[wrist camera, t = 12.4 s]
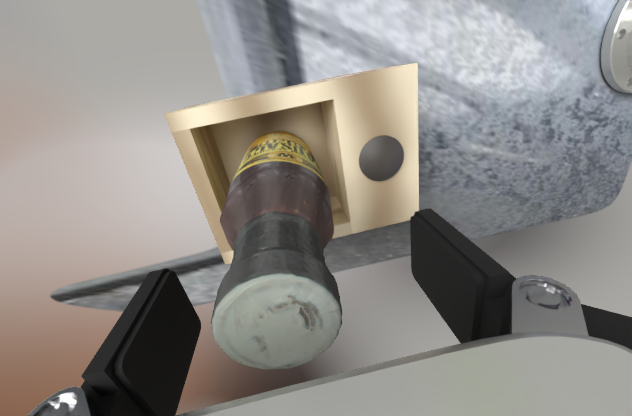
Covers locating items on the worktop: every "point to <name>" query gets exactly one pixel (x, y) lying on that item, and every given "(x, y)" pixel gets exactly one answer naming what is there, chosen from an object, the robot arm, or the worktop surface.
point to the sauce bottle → (277, 258)
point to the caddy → (316, 144)
